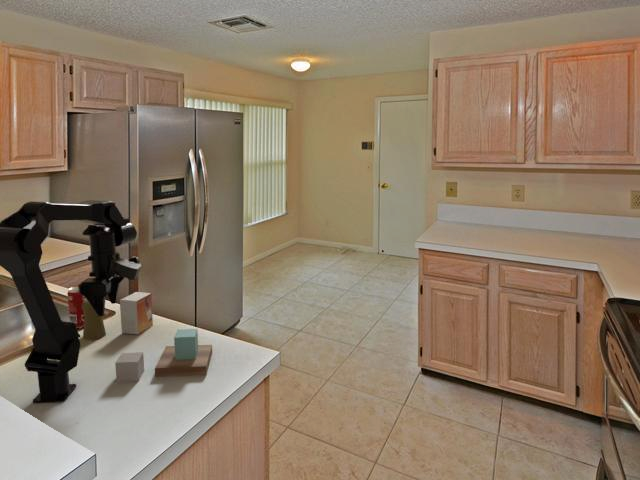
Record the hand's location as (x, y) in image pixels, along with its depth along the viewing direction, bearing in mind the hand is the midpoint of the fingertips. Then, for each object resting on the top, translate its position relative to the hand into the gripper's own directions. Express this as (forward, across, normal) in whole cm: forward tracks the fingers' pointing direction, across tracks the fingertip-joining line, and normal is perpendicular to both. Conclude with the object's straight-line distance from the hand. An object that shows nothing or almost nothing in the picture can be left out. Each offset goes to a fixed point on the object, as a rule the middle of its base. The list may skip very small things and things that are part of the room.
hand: (107, 309), depth 113 cm
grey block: (+13, -11, -8) cm, 19 cm away
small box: (+13, +18, -2) cm, 22 cm away
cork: (+13, +14, +9) cm, 21 cm away
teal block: (+11, -6, -20) cm, 24 cm away
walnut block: (+14, -6, -20) cm, 25 cm away
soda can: (+13, +22, +16) cm, 30 cm away
